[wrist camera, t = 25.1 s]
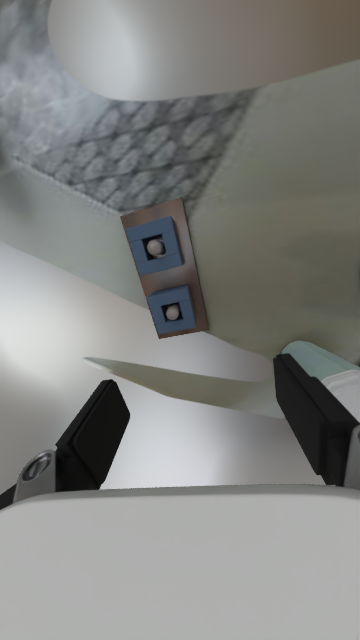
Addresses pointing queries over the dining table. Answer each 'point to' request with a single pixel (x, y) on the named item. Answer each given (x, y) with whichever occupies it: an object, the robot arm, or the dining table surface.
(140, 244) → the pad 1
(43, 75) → the dining table surface
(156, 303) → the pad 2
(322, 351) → the disposable coffee cup
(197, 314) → the wooden peg board
